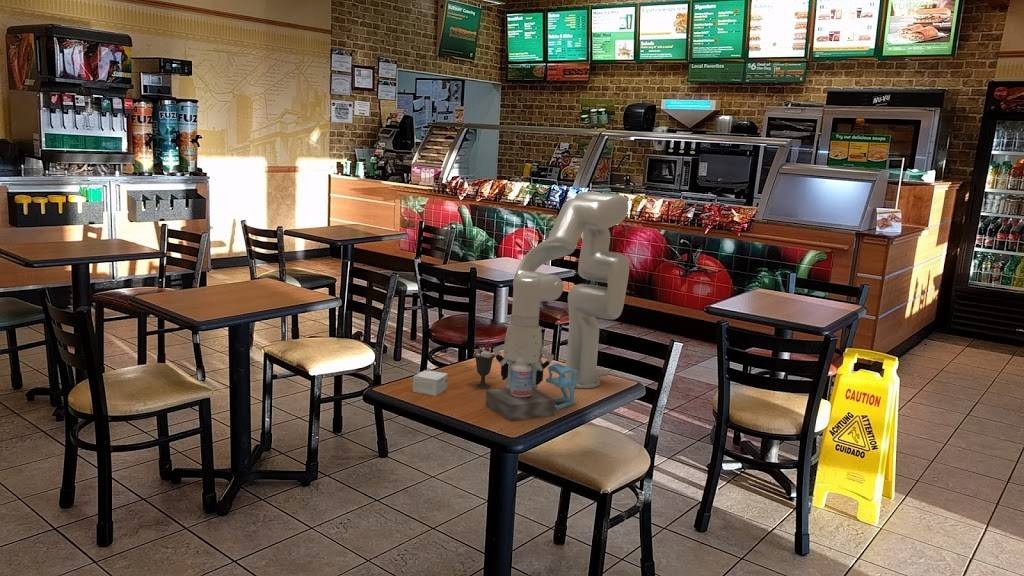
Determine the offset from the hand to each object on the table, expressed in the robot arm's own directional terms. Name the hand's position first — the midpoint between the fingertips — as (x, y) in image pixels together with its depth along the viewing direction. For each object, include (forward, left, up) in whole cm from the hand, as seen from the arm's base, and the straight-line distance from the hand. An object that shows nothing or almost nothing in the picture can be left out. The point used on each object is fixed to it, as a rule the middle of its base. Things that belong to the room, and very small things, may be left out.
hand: (521, 381), depth 217 cm
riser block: (0, 0, -9) cm, 9 cm away
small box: (+17, -25, -9) cm, 31 cm away
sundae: (0, -23, -9) cm, 25 cm away
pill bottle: (0, 0, -4) cm, 4 cm away
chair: (-14, -1, -9) cm, 17 cm away
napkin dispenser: (-9, -15, -8) cm, 19 cm away
